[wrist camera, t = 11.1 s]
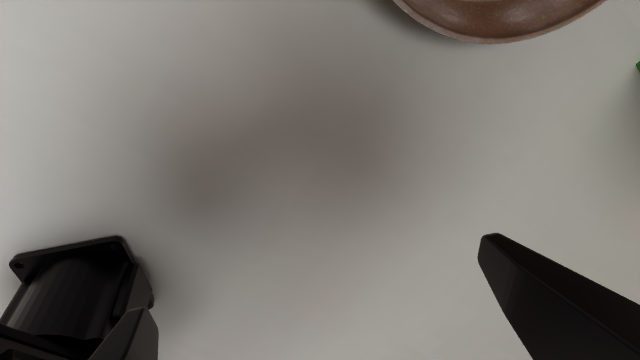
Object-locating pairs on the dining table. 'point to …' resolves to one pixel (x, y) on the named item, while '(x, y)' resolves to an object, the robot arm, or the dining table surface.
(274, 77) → the dining table surface
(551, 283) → the robot arm
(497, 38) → the plant saucer
